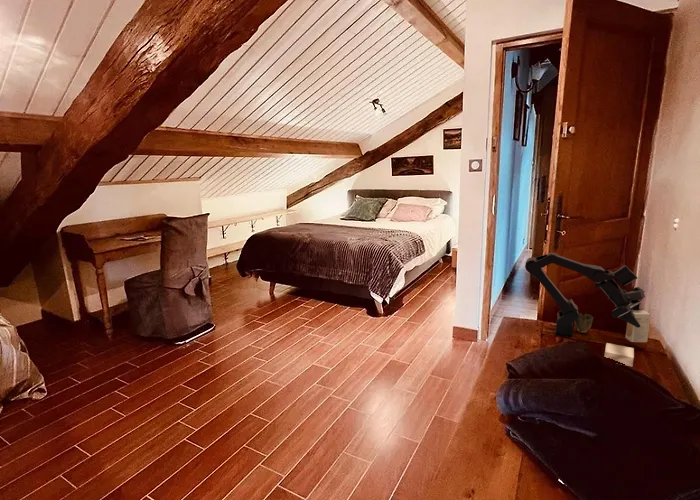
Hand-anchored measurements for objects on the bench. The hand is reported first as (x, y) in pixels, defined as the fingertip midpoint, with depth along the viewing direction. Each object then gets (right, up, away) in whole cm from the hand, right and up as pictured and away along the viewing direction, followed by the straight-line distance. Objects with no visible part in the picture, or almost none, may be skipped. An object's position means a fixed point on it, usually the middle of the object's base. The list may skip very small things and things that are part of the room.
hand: (642, 324), depth 157 cm
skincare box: (-1, -7, +3) cm, 8 cm away
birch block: (-12, -13, -4) cm, 18 cm away
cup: (-12, -8, +20) cm, 25 cm away
